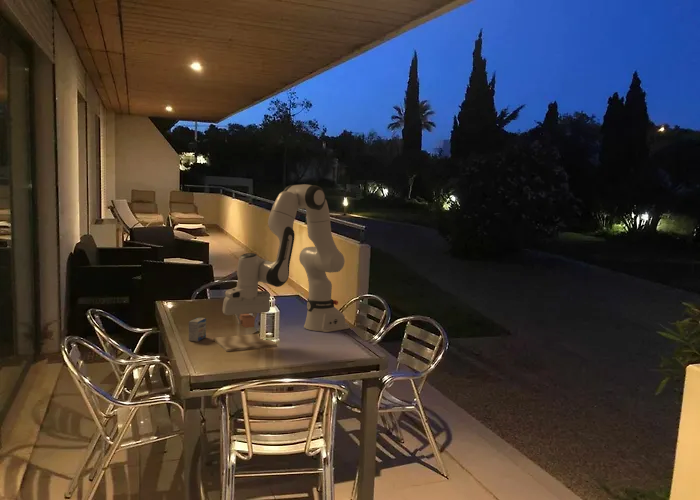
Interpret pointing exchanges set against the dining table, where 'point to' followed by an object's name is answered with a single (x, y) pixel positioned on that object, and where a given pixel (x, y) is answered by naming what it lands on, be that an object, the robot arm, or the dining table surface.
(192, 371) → the dining table surface
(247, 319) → the terracotta block
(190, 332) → the medicine box
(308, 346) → the dining table surface
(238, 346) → the birch board
